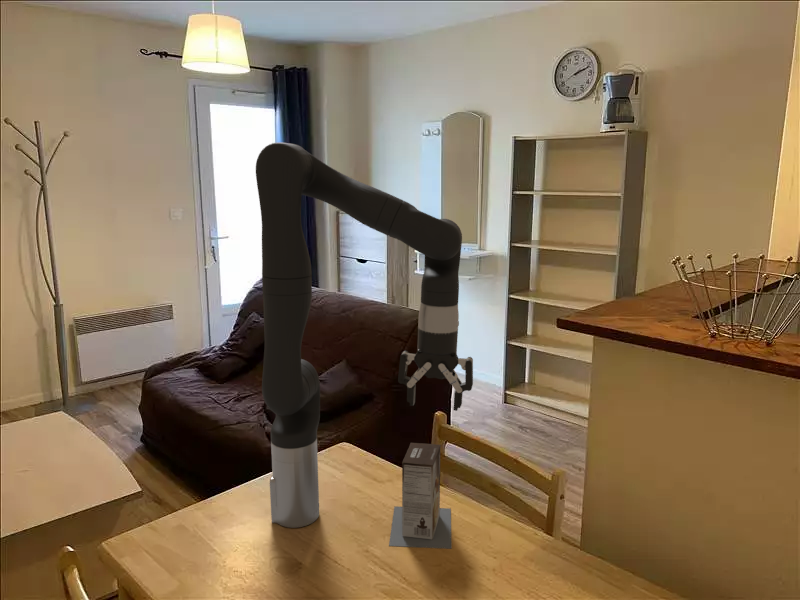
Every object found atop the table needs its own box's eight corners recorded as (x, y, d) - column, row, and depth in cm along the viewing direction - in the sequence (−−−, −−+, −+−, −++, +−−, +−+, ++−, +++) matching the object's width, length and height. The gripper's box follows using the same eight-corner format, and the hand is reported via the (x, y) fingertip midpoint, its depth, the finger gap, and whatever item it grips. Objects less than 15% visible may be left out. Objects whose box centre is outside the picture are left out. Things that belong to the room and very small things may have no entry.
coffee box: (410, 511, 129) (410, 441, 126) (440, 515, 128) (441, 443, 125) (401, 537, 120) (401, 461, 117) (433, 540, 119) (434, 464, 116)
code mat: (388, 547, 118) (388, 545, 118) (394, 507, 132) (394, 506, 131) (451, 549, 117) (451, 548, 117) (450, 509, 131) (450, 508, 131)
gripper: (397, 328, 113) (394, 410, 117) (474, 334, 111) (469, 418, 114) (404, 318, 121) (401, 396, 124) (477, 324, 118) (472, 403, 122)
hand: (434, 406), depth 119 cm, fingers open, 8 cm apart
